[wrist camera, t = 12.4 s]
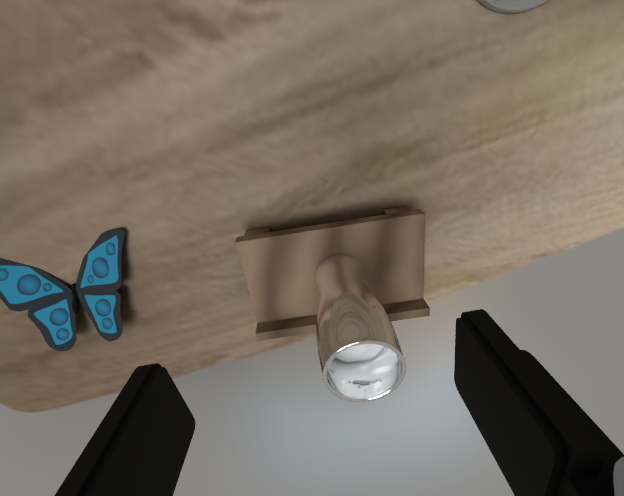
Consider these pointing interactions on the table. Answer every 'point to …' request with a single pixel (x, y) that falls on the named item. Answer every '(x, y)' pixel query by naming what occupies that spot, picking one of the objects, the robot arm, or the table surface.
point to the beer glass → (355, 334)
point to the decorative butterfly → (69, 293)
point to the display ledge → (319, 246)
